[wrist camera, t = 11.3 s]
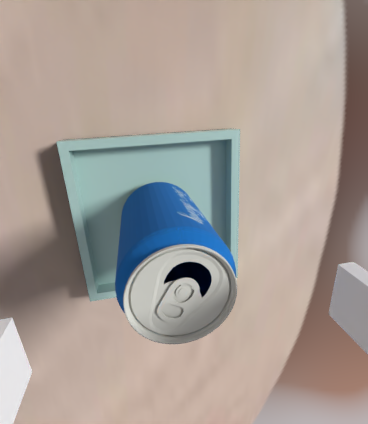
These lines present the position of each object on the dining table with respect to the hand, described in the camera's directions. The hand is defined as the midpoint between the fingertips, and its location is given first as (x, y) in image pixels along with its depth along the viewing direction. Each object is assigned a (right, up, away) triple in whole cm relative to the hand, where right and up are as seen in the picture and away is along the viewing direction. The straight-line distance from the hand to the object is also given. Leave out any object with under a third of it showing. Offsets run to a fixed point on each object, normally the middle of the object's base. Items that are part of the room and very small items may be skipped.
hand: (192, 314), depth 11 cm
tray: (-3, +4, +14) cm, 15 cm away
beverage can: (-3, +4, +13) cm, 14 cm away
